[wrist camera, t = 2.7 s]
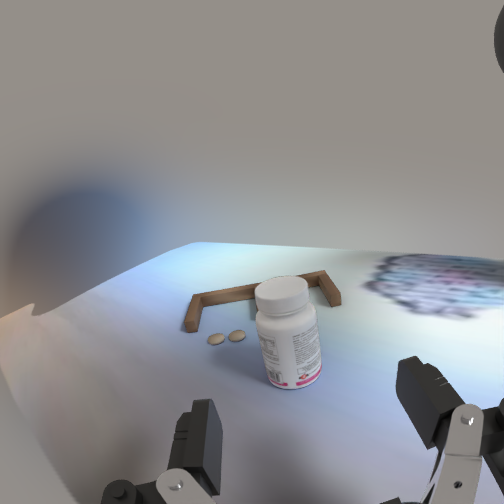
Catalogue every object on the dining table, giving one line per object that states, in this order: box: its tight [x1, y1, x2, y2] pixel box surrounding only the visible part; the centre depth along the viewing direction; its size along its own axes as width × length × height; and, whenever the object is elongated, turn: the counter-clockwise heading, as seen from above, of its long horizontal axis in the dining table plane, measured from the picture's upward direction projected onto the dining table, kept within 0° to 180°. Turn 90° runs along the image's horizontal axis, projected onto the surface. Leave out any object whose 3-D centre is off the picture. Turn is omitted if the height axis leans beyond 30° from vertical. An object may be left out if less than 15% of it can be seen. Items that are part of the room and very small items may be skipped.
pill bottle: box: [255, 276, 322, 389], centre depth 24 cm, size 5×5×8 cm
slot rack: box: [184, 270, 341, 345], centre depth 37 cm, size 18×11×2 cm, turn 92°
